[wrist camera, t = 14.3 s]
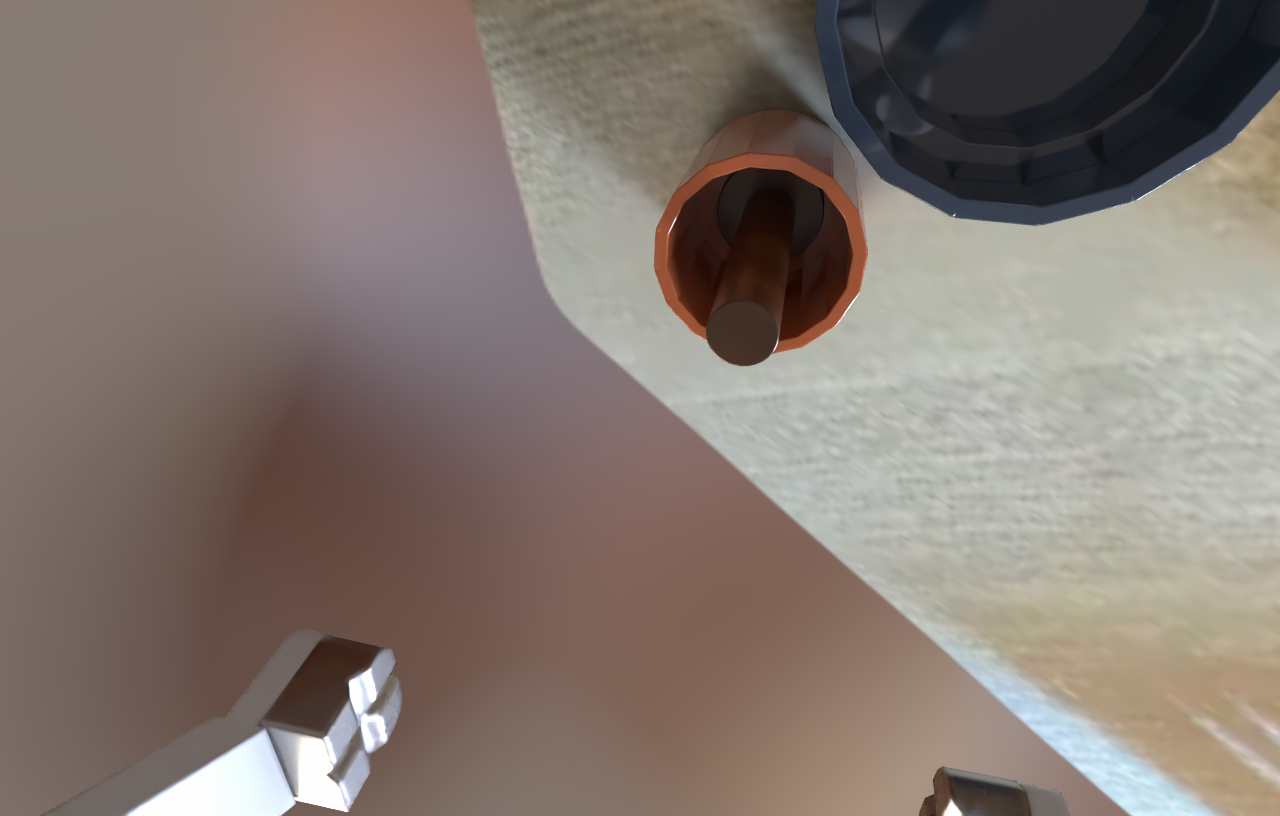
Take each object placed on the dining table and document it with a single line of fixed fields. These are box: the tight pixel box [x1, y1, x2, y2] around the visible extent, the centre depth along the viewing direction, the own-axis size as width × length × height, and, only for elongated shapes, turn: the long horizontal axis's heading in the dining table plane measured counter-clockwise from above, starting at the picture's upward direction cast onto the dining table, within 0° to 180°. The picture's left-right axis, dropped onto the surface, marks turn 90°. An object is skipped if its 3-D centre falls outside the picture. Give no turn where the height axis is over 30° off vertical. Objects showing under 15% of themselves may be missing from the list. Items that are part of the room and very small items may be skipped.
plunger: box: [706, 167, 824, 366], centre depth 28 cm, size 5×5×13 cm
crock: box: [654, 110, 868, 354], centre depth 30 cm, size 8×8×8 cm
